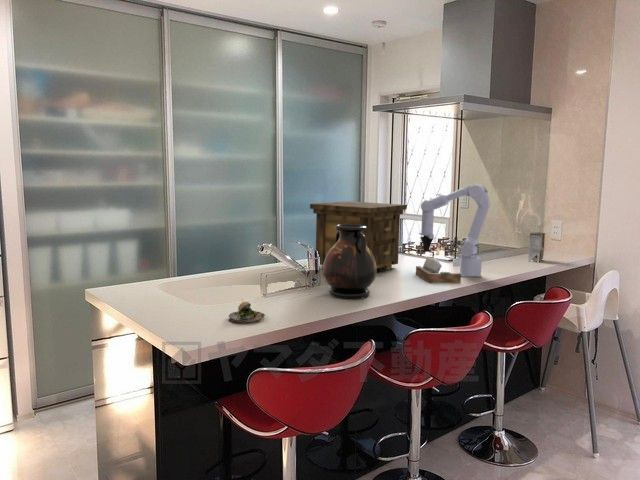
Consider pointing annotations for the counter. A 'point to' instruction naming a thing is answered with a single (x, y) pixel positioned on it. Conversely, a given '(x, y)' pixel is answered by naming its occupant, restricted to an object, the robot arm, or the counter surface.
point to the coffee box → (536, 246)
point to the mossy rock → (245, 314)
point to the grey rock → (432, 265)
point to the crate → (372, 215)
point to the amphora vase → (349, 263)
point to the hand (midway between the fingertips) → (426, 251)
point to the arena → (438, 276)
